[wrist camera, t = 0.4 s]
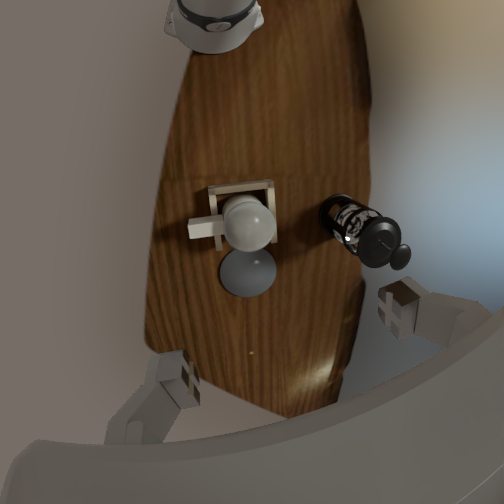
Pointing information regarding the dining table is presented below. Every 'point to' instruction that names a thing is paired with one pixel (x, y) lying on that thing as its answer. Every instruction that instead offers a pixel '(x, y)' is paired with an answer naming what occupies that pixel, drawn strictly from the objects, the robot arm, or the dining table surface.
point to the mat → (248, 272)
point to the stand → (239, 187)
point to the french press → (365, 233)
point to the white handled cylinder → (238, 223)
